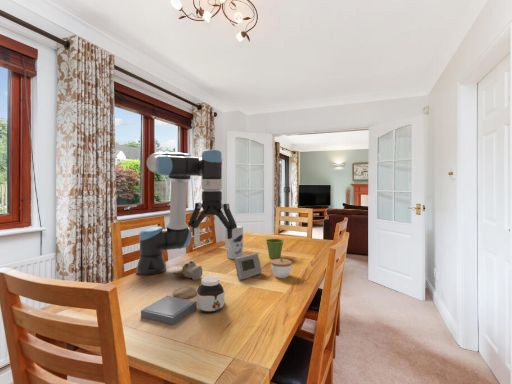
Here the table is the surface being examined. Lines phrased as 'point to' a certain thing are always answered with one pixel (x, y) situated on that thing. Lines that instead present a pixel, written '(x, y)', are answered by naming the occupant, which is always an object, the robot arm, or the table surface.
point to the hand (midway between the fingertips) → (212, 245)
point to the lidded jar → (281, 267)
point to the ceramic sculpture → (190, 271)
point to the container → (236, 243)
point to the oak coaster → (185, 292)
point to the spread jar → (210, 295)
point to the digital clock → (247, 266)
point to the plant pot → (274, 248)
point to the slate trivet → (169, 309)
